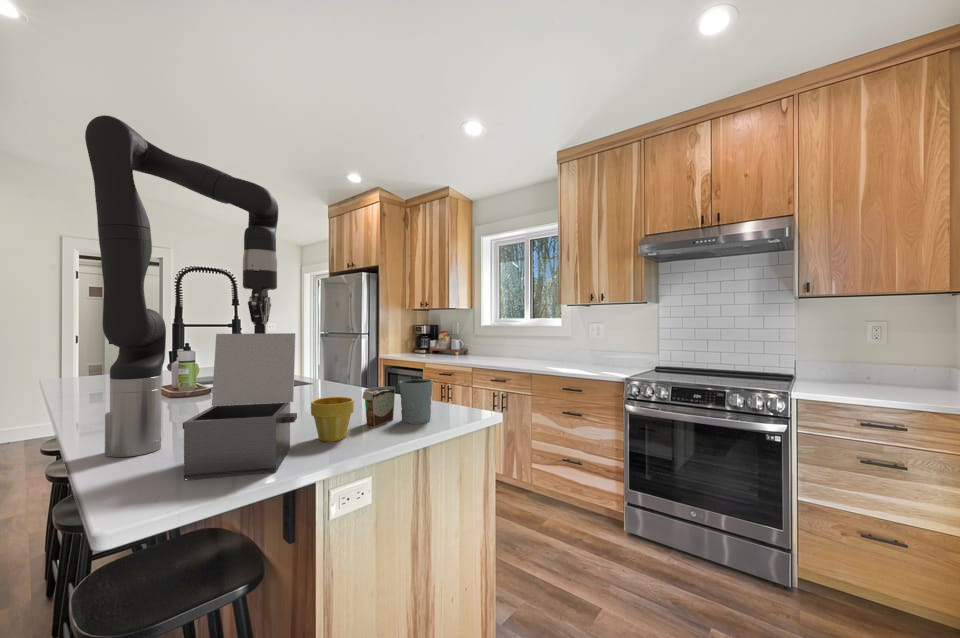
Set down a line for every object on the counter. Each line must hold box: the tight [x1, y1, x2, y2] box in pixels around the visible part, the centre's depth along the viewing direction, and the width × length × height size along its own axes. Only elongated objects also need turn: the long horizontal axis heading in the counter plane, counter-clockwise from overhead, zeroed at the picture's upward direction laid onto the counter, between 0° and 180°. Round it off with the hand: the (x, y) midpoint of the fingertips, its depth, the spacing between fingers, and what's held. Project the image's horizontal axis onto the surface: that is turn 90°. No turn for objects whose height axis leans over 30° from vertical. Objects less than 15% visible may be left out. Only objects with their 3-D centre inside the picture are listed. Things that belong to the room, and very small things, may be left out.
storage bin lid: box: [211, 332, 296, 407], centre depth 100 cm, size 17×16×2 cm
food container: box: [362, 386, 397, 428], centre depth 125 cm, size 12×6×10 cm, turn 157°
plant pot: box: [310, 396, 355, 443], centre depth 109 cm, size 10×10×10 cm
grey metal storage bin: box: [182, 402, 298, 481], centre depth 90 cm, size 21×16×11 cm
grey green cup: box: [398, 378, 433, 425], centre depth 128 cm, size 10×10×12 cm
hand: (259, 339), depth 104 cm, fingers closed
